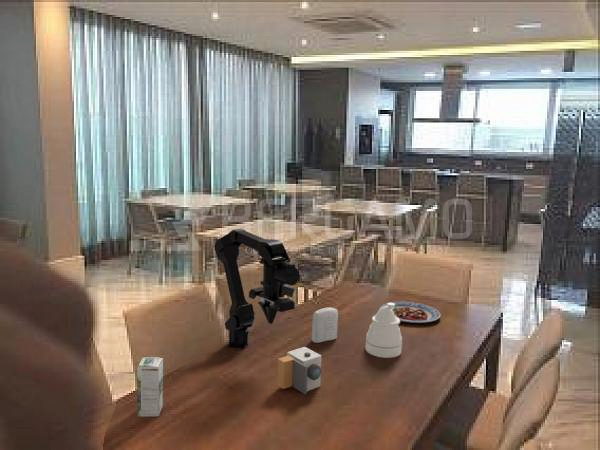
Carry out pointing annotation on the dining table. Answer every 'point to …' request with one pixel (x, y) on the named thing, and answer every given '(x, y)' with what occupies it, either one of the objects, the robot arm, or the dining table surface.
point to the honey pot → (384, 334)
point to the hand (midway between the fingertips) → (270, 323)
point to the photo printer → (324, 325)
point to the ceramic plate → (414, 312)
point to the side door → (292, 374)
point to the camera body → (309, 365)
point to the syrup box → (150, 387)
